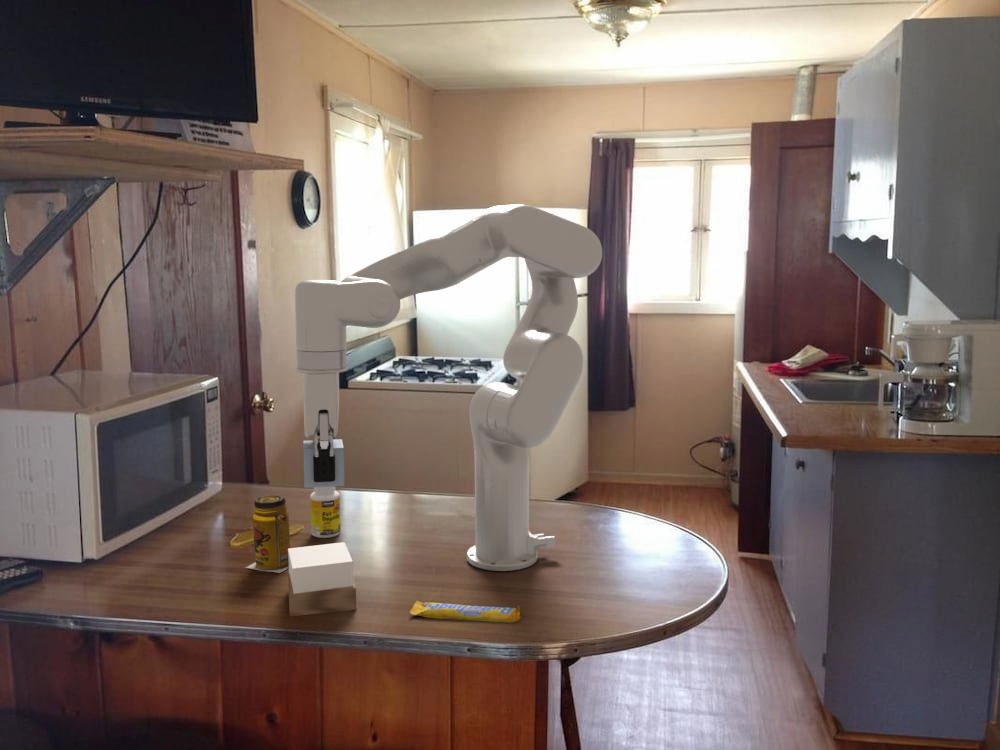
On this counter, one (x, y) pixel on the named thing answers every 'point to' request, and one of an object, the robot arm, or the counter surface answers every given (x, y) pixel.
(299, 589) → the tower top block
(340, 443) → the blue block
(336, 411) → the robot arm
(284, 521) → the condiment
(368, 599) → the counter surface
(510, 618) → the candy bar
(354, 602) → the tower base block
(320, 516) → the supplement bottle
